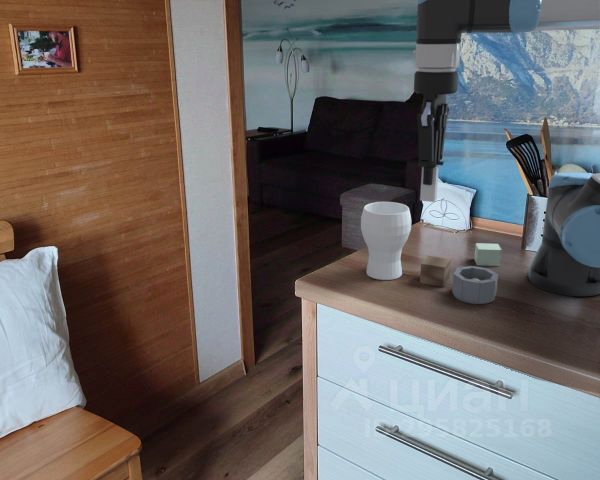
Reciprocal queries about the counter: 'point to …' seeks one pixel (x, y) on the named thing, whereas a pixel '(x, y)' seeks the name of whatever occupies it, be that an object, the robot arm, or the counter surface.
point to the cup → (385, 237)
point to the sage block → (487, 254)
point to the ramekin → (475, 285)
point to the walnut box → (435, 271)
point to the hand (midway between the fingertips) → (428, 200)
